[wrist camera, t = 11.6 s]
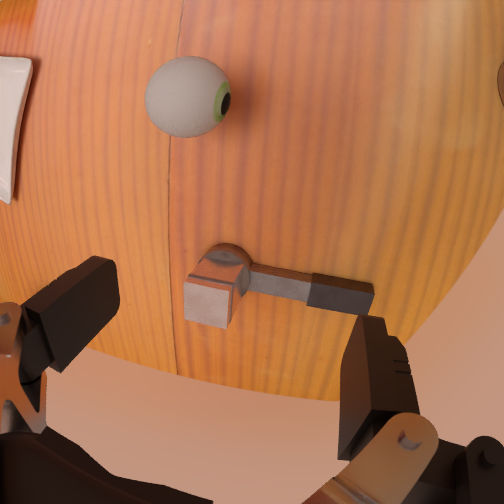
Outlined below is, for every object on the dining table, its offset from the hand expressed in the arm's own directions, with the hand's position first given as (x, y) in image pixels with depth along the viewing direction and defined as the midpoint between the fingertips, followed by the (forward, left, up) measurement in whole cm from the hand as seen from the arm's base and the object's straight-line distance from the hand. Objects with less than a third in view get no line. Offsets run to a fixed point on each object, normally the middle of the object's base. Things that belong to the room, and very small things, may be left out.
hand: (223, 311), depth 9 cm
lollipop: (+9, -7, -28) cm, 31 cm away
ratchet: (-1, +14, -28) cm, 31 cm away
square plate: (+59, -7, -29) cm, 66 cm away
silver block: (+7, +14, -25) cm, 29 cm away
